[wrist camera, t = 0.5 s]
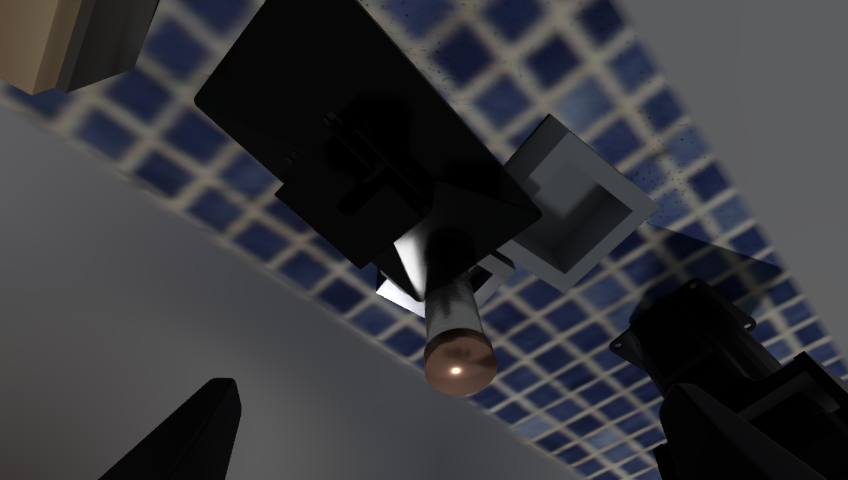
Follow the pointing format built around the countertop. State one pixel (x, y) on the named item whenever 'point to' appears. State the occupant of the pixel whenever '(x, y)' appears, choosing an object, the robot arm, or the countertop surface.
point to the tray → (571, 206)
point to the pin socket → (483, 284)
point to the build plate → (364, 144)
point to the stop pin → (456, 340)
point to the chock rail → (70, 41)
